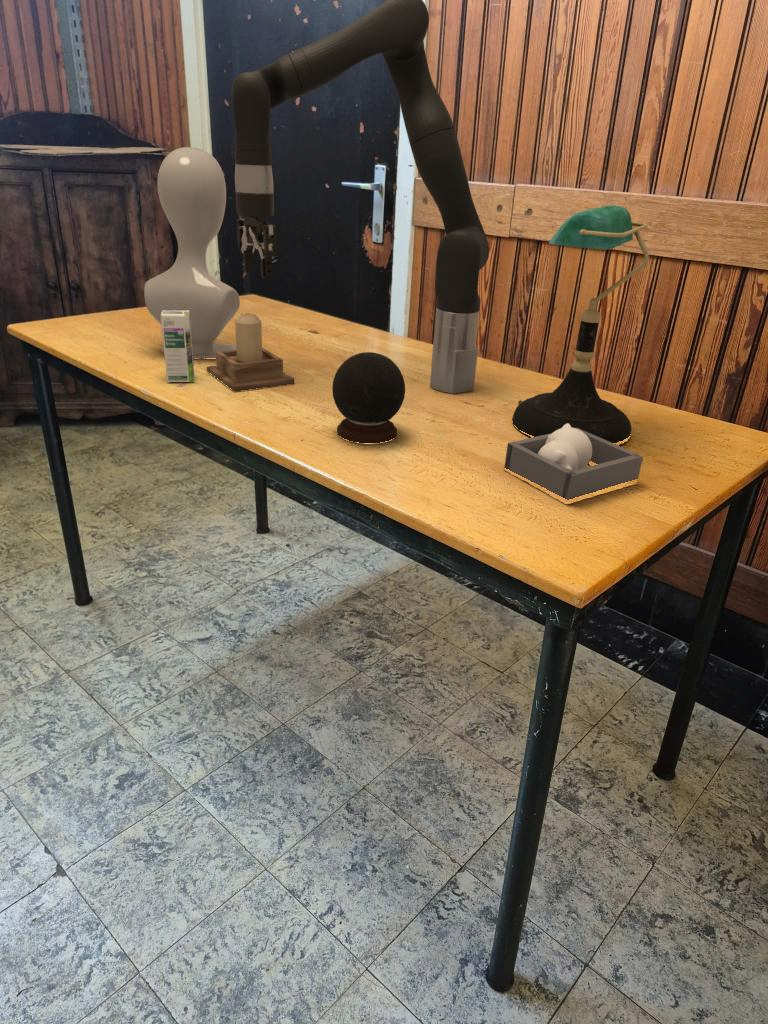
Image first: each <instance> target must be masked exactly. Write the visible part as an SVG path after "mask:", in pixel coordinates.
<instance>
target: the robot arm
mask: <svg viewBox="0 0 768 1024" xmlns="http://www.w3.org/2000/svg"><path fill="white" fill-rule="evenodd" d="M429 18H430V17H429V11H428V7H427V6H426V3H425V2H424V1H423V0H385V1H384V2H382V3H380V4H379V5H378V6H376V7H375V8H374V9H372V10H371V11H370V12H368V13H366V14H364V15H362V16H361V17H360V18H359V19H356V20H355V21H353V22H352V23H350V24H349V25H347V26H344V27H342V28H341V29H339V30H337V31H334V32H333V33H331V34H329V35H327V36H325V37H323V38H321V39H320V38H319V40H316V41H314V42H312V43H310V44H307V45H305V46H302V47H300V48H298V49H296V50H294V51H291V52H289V53H287V54H284V55H283V56H281V57H280V58H278V59H276V60H275V61H274V62H273V63H271V64H268V65H266V66H263V67H261V68H258V69H256V70H254V71H246V72H245V71H244V72H242V73H240V74H239V75H237V76H236V78H235V79H234V80H233V83H232V86H231V95H230V96H231V102H232V111H233V121H234V122H233V123H234V133H235V134H234V144H233V145H234V146H233V147H234V161H235V162H234V164H235V166H234V167H235V170H234V187H235V188H234V189H235V190H234V191H235V206H236V208H235V209H236V210H235V211H236V215H237V216H239V217H244V218H237V219H236V235H237V236H236V238H237V248H238V250H240V251H241V253H242V254H243V270H244V272H245V273H254V272H255V271H256V261H255V260H256V259H255V251H256V250H257V251H258V253H259V255H260V270H261V271H260V273H261V278H262V279H272V278H273V277H274V276H273V259H274V258H275V257H278V255H279V251H278V248H279V247H278V234H277V233H278V231H277V225H276V224H269V221H268V219H269V218H271V217H273V216H275V198H274V197H275V196H274V195H275V194H274V177H273V169H272V149H271V145H272V144H271V139H270V125H271V124H270V123H271V121H270V120H271V109H273V108H275V107H277V106H279V105H280V104H282V103H285V102H286V101H289V100H292V99H295V98H299V97H301V96H304V95H306V94H309V93H310V92H312V91H315V90H317V89H319V88H321V87H323V86H326V85H327V84H329V83H331V82H332V81H334V80H336V79H338V78H339V76H341V75H343V74H344V73H345V72H347V71H349V70H350V69H351V68H353V67H355V66H357V64H360V63H361V62H363V61H365V60H367V59H369V58H372V57H373V56H376V55H378V54H382V57H383V59H384V62H385V65H386V66H387V69H388V72H389V75H390V77H391V79H392V82H393V84H394V88H395V90H396V93H397V96H398V101H399V106H400V110H401V115H402V118H403V122H404V123H403V124H404V126H405V131H406V134H407V138H408V144H409V146H410V150H411V153H412V156H413V160H414V164H415V166H416V170H417V171H418V174H419V176H420V178H421V180H422V182H423V184H424V186H425V187H426V189H427V191H428V192H429V194H430V196H431V197H432V199H433V201H434V203H435V204H436V206H437V209H438V211H439V213H440V217H441V219H442V224H443V228H444V231H445V235H444V237H443V238H442V239H441V241H440V242H439V245H438V249H437V253H436V262H435V278H434V279H435V281H434V283H435V284H434V292H435V298H436V309H435V321H434V332H433V333H434V334H433V343H432V355H431V356H432V357H431V367H430V370H431V371H430V379H429V380H430V382H429V387H431V388H432V389H434V390H436V391H440V392H444V393H449V394H452V395H453V394H460V393H466V392H472V391H471V390H473V391H474V387H475V379H476V370H477V360H478V351H479V349H478V348H477V347H476V345H477V344H476V343H477V334H478V324H479V318H480V317H479V316H480V307H481V297H480V295H479V290H478V289H479V288H478V287H479V277H480V276H479V275H480V271H481V270H482V269H483V268H484V267H485V265H486V264H487V262H488V259H489V257H490V244H489V241H488V238H487V235H486V232H485V229H484V227H483V224H482V221H481V220H480V217H479V214H478V212H477V209H476V206H475V203H474V200H473V198H472V193H471V189H470V184H469V179H468V175H467V172H466V168H465V163H464V161H463V156H462V152H461V147H460V143H459V140H458V137H457V136H458V135H457V133H456V129H455V126H454V122H453V120H452V117H451V115H450V112H449V111H448V109H447V106H446V105H445V102H444V101H443V100H442V98H441V96H440V94H439V93H438V90H437V88H436V87H435V84H434V81H433V80H432V77H431V73H430V68H429V65H428V64H429V63H428V61H427V60H428V59H427V55H426V54H427V53H426V49H425V42H424V41H425V39H426V36H427V33H428V29H429V26H430V25H429V24H430V23H429V22H430V19H429ZM255 249H256V250H255Z"/></svg>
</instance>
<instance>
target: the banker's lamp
mask: <svg viewBox="0 0 768 1024" xmlns="http://www.w3.org/2000/svg"><path fill="white" fill-rule="evenodd" d="M633 227H634V228H633ZM648 227H649V225H648V224H647V223H645V222H644V223H643V222H635V221H632V217H631V214H630V211H629V210H628V209H627V208H625V207H623V206H620V205H614V204H613V205H611V204H610V205H604V206H600V207H599V206H598V207H595V208H590V209H585V210H582V211H579V212H576V213H574V214H573V215H571V216H570V217H569V218H568V219H566V220H565V221H564V223H563V224H562V225H561V226H560V227H558V228H559V229H558V230H557V231H556V232H555V234H554V235H553V236H552V237H551V239H550V240H549V242H548V244H551V245H554V246H556V245H557V246H565V247H574V248H584V249H594V250H605V251H606V250H612V249H615V248H617V247H620V246H622V245H624V244H626V243H629V242H631V241H632V240H634V239H633V237H634V236H635V238H636V240H637V242H638V245H639V247H640V250H641V251H642V254H643V261H642V262H641V263H639V265H637V266H636V267H635V268H634V269H632V270H631V271H630V272H628V273H627V274H626V275H624V276H623V277H622V278H621V279H619V280H618V281H617V282H615V283H614V284H612V285H611V286H610V287H608V288H607V289H605V291H603V292H602V293H600V294H599V295H598V296H596V297H592V298H591V299H590V300H589V304H588V309H586V310H583V311H582V313H581V314H580V317H579V318H580V323H579V329H578V334H577V335H578V336H577V340H576V346H575V348H574V354H573V355H574V358H576V359H575V360H573V362H572V364H571V367H570V368H569V371H568V373H566V376H565V377H564V378H563V379H562V381H561V382H560V384H559V385H558V386H557V387H556V388H555V389H554V390H553V391H551V392H543V393H539V394H536V395H534V396H532V397H529V398H527V399H525V400H521V399H520V400H518V402H517V403H518V405H517V406H516V407H515V410H514V412H513V415H512V418H511V422H512V421H513V423H512V425H513V424H514V425H515V426H516V427H517V428H518V429H519V430H521V431H523V432H525V433H527V434H529V435H532V436H534V437H537V436H542V435H546V434H551V433H553V432H554V431H556V430H558V429H561V428H562V427H563V426H564V425H565V424H567V423H568V424H570V426H571V427H572V428H579V429H581V430H584V431H586V432H588V433H590V434H593V435H595V436H597V437H600V438H602V439H604V440H606V441H609V442H611V443H617V442H619V441H623V440H624V439H626V438H628V437H629V436H630V434H631V435H632V424H631V423H632V422H631V420H630V418H629V417H628V415H626V414H625V412H623V411H622V410H621V409H620V408H618V407H617V406H615V405H614V404H613V403H611V402H609V401H607V400H604V399H602V398H601V396H600V395H599V393H598V391H597V389H596V386H595V382H594V376H593V372H592V363H591V362H590V360H592V359H593V358H594V355H595V347H596V346H595V345H596V342H597V341H596V340H597V337H598V336H597V335H598V332H599V331H598V330H599V326H600V325H599V324H600V323H601V320H602V317H601V316H602V315H601V313H600V312H599V311H598V310H597V307H598V303H599V301H601V300H602V299H603V298H605V297H607V295H609V294H611V293H612V292H613V291H614V290H616V289H617V288H619V287H620V286H621V285H623V284H624V283H625V282H627V281H628V280H629V279H631V278H632V277H634V275H636V274H637V273H638V272H640V271H641V270H642V269H643V268H644V267H646V265H647V264H648V262H649V259H650V255H649V251H648V249H647V246H646V244H645V242H644V239H643V237H642V235H641V233H640V231H642V230H644V229H647V228H648ZM514 425H513V426H514ZM519 430H518V431H519Z"/></svg>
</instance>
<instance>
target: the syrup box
mask: <svg viewBox="0 0 768 1024" xmlns="http://www.w3.org/2000/svg"><path fill="white" fill-rule="evenodd" d="M160 327H161V334H162V335H161V336H162V343H163V344H162V346H163V345H164V352H163V354H164V362H165V363H164V364H165V374H166V377H165V378H166V383H167V382H193V383H194V381H195V367H194V359H193V350H192V338H191V325H190V312H189V310H186V311H166V310H163V311H162V313H161V324H160Z"/></svg>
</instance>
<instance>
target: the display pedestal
mask: <svg viewBox="0 0 768 1024" xmlns="http://www.w3.org/2000/svg"><path fill="white" fill-rule="evenodd" d="M215 361H216V365H209V366H206V372H207V371H208V372H209V373H211V374H212V375H213V376H215V377H216V378H218V379H219V380H220V381H222V382H223V383H224V384H225V385H227V386H228V387H229V388H231V389H232V390H233V391H240V392H242V391H241V390H247V391H250V390H249V389H255V390H257V389H256V388H262V389H264V388H263V387H269V388H272V387H271V386H277V387H280V386H279V385H284V386H288V385H287V384H291V385H295V378H294V377H292V376H290V375H289V374H287V373H286V372H284V359H283V358H282V357H279V356H278V355H276V354H275V353H272V352H271V351H269V350H267V349H265V348H264V347H262V361H253V362H245V363H243V362H239V361H238V360H237V350H232V351H222V352H216V359H215ZM208 372H207V373H208ZM209 373H208V374H209ZM212 375H211V376H212ZM213 376H212V377H213ZM216 378H215V379H216ZM220 381H219V382H220ZM224 384H223V385H224ZM225 385H224V386H225ZM227 386H226V387H227ZM228 387H227V388H228ZM229 388H228V389H229ZM231 389H230V390H231ZM232 390H231V391H232ZM233 391H232V392H233Z"/></svg>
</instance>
